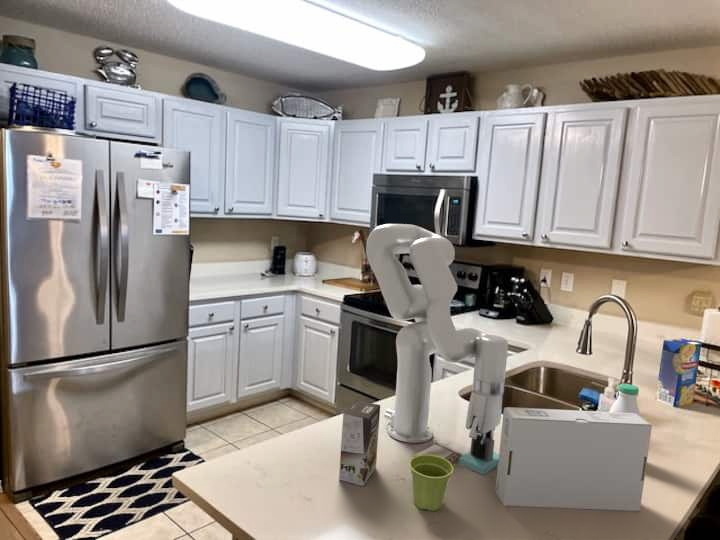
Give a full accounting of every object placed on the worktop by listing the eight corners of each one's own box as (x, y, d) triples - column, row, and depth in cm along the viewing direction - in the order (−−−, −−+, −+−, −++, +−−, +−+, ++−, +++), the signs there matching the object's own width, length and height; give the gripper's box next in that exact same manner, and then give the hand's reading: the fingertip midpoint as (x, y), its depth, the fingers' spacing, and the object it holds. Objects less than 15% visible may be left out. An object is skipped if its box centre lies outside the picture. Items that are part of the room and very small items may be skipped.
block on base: (458, 463, 126) (460, 439, 125) (478, 450, 134) (480, 427, 133) (483, 474, 122) (486, 449, 121) (502, 461, 129) (505, 436, 128)
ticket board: (413, 460, 126) (413, 454, 126) (435, 448, 134) (436, 442, 134) (440, 473, 121) (440, 467, 121) (461, 459, 128) (462, 453, 128)
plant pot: (459, 508, 107) (462, 470, 106) (425, 521, 102) (428, 481, 101) (430, 486, 115) (433, 451, 114) (397, 497, 110) (400, 460, 109)
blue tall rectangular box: (692, 403, 180) (701, 343, 178) (674, 407, 175) (683, 345, 173) (673, 396, 186) (682, 338, 184) (655, 399, 181) (663, 340, 179)
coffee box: (364, 487, 113) (368, 418, 111) (337, 480, 115) (341, 412, 113) (377, 468, 122) (381, 404, 120) (352, 462, 124) (356, 399, 122)
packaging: (624, 495, 117) (636, 413, 114) (640, 511, 110) (652, 424, 108) (495, 490, 115) (503, 406, 113) (503, 506, 109) (512, 418, 107)
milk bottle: (599, 457, 135) (608, 385, 132) (608, 448, 140) (617, 378, 138) (630, 468, 130) (641, 393, 127) (639, 458, 135) (649, 387, 133)
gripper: (490, 374, 134) (483, 440, 136) (457, 388, 122) (451, 460, 124) (516, 382, 129) (509, 450, 131) (486, 397, 117) (478, 472, 119)
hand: (481, 454), depth 127 cm, fingers closed on block on base, 2 cm apart
